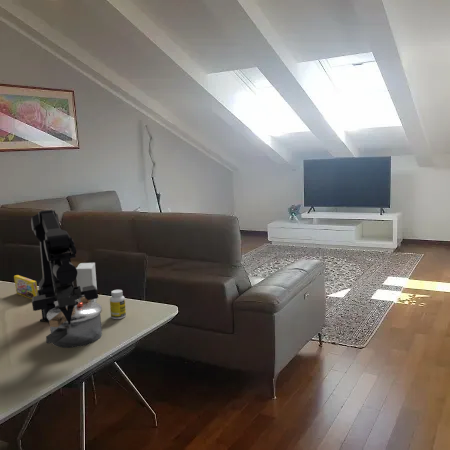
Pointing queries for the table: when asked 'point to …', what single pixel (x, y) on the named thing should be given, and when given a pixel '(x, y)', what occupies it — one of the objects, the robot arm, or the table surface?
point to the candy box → (25, 286)
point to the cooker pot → (76, 333)
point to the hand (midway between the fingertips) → (69, 324)
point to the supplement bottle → (117, 304)
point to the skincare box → (86, 276)
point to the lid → (75, 313)
